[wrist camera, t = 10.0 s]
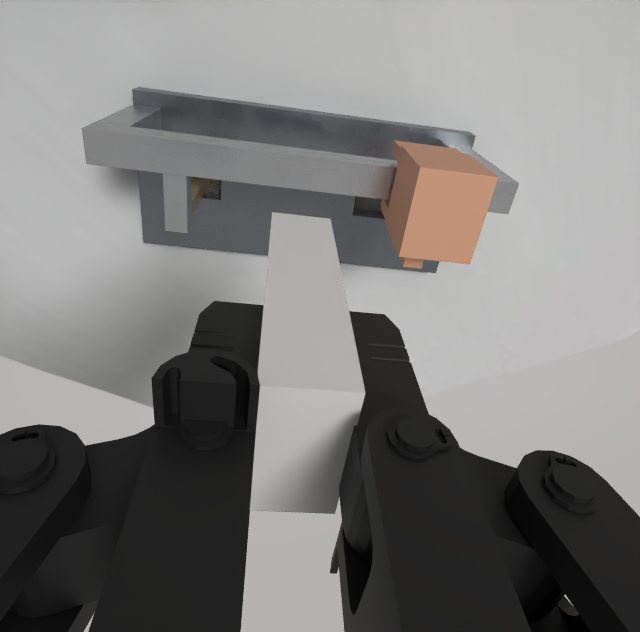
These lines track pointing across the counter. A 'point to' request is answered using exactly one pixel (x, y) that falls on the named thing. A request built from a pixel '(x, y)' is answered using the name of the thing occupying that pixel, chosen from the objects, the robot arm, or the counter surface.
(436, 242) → the block
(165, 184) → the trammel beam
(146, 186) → the bolt plate
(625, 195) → the counter surface
